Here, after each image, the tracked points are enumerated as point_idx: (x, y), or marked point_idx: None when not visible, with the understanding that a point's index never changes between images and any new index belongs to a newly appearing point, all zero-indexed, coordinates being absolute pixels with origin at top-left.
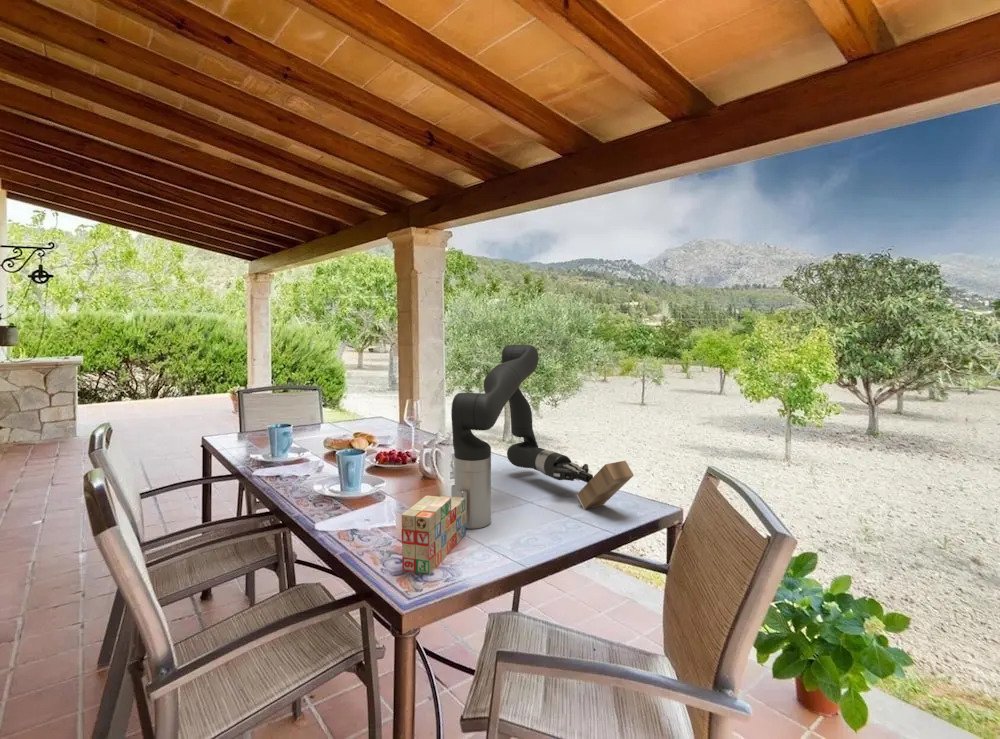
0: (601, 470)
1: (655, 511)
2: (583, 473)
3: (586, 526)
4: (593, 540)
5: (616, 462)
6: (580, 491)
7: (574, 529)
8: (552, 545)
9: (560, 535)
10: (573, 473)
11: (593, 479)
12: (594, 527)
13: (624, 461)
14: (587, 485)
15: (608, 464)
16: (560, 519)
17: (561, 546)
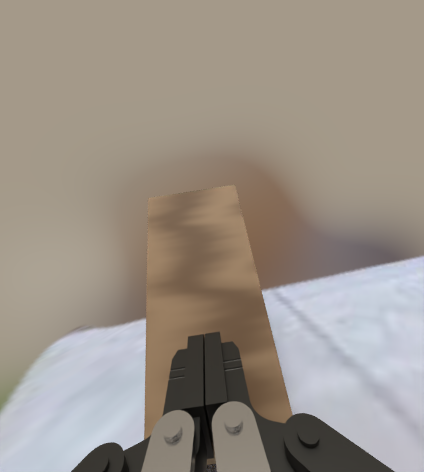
0: (240, 211)
1: (105, 342)
2: (223, 367)
3: (321, 318)
4: (324, 280)
5: (188, 192)
6: (286, 394)
7: (359, 312)
8: (417, 277)
9: (400, 299)
10: (298, 422)
11: (253, 265)
12: (303, 311)
13: (154, 199)
14: (266, 316)
15: (223, 188)
16: (408, 369)
17: (395, 274)
